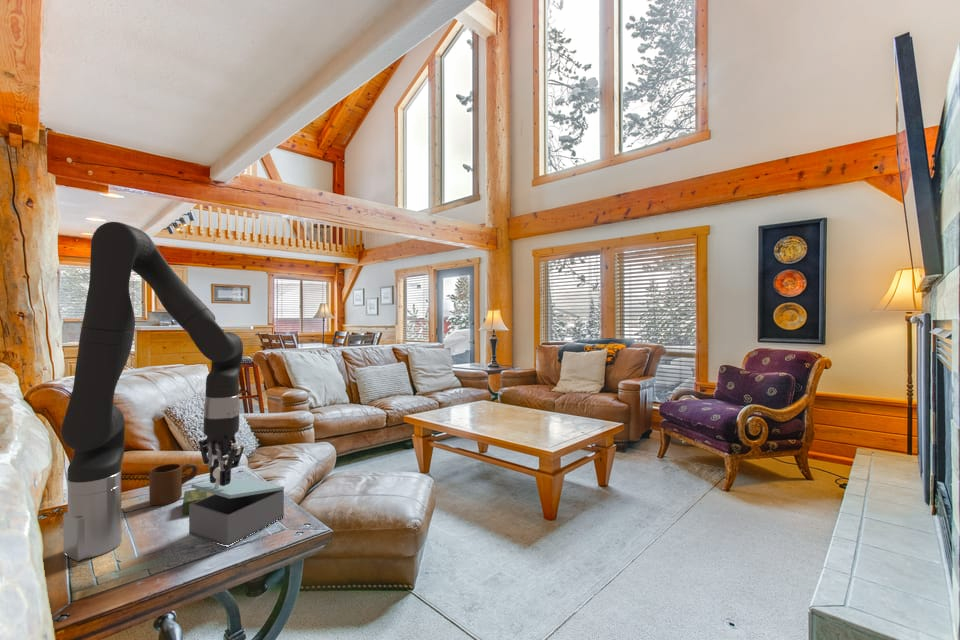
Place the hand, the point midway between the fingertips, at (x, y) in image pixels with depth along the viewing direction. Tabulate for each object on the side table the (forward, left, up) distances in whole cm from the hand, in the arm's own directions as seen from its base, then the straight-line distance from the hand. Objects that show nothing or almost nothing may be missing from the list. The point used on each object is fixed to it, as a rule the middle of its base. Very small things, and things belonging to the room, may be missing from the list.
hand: (220, 483), depth 106 cm
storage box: (+5, 0, -13) cm, 14 cm away
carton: (+11, +17, -14) cm, 24 cm away
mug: (+8, +31, -13) cm, 35 cm away
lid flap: (+5, 0, -3) cm, 6 cm away
